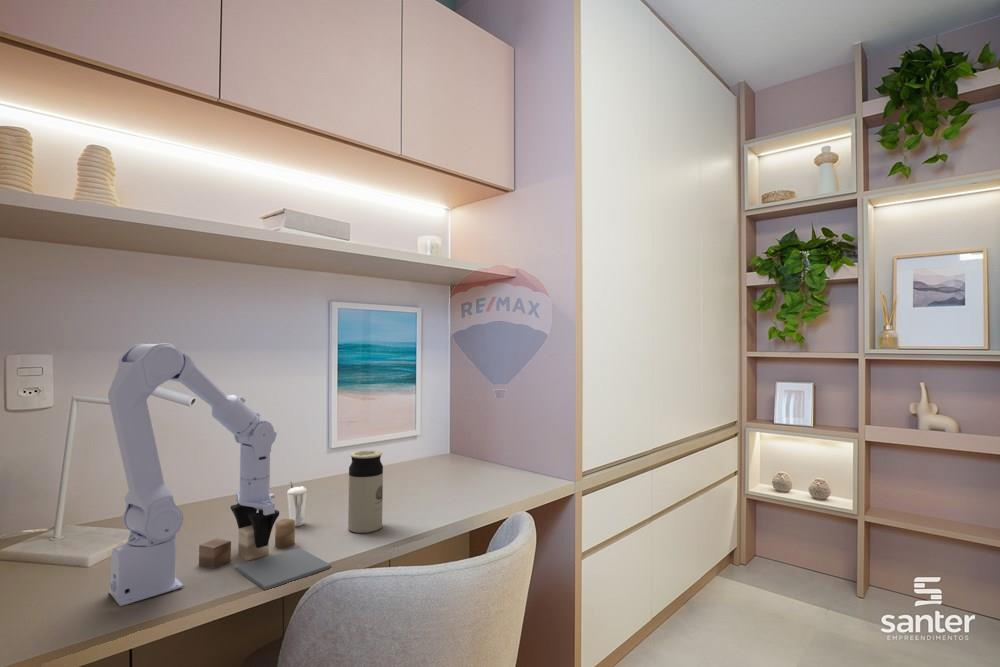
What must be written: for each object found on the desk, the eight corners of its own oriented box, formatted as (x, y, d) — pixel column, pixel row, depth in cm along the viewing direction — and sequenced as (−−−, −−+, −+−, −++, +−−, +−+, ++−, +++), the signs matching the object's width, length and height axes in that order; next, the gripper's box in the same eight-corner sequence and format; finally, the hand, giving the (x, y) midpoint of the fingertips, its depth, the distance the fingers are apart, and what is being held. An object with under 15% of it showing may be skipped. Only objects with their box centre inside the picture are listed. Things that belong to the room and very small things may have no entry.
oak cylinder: (280, 549, 111) (280, 526, 112) (271, 544, 114) (272, 522, 114) (297, 544, 114) (298, 521, 115) (289, 540, 117) (289, 517, 117)
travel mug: (341, 530, 123) (342, 454, 124) (362, 520, 130) (363, 448, 131) (368, 536, 120) (369, 457, 120) (388, 525, 127) (389, 451, 128)
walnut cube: (213, 568, 102) (213, 548, 102) (198, 565, 103) (199, 545, 104) (230, 560, 106) (231, 541, 106) (216, 557, 107) (216, 538, 107)
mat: (264, 590, 93) (264, 586, 93) (235, 569, 101) (235, 566, 101) (331, 567, 102) (331, 564, 102) (299, 550, 111) (299, 547, 111)
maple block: (247, 560, 106) (247, 533, 106) (238, 555, 109) (238, 528, 109) (268, 554, 109) (269, 528, 109) (259, 549, 112) (260, 523, 112)
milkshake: (298, 519, 131) (299, 479, 131) (310, 524, 128) (310, 483, 128) (281, 524, 128) (282, 483, 128) (292, 529, 124) (293, 487, 124)
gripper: (289, 479, 107) (288, 545, 107) (259, 468, 117) (258, 528, 117) (254, 485, 102) (253, 555, 102) (226, 473, 112) (225, 537, 111)
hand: (253, 541), depth 109 cm, fingers open, 7 cm apart
